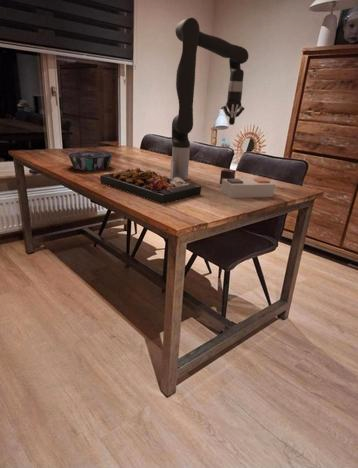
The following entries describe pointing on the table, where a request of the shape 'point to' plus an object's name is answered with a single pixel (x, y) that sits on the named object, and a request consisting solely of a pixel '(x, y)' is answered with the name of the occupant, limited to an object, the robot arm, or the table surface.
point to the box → (227, 174)
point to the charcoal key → (234, 181)
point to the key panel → (247, 189)
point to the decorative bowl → (90, 160)
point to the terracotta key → (261, 180)
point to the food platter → (151, 185)
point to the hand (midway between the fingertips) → (231, 124)
